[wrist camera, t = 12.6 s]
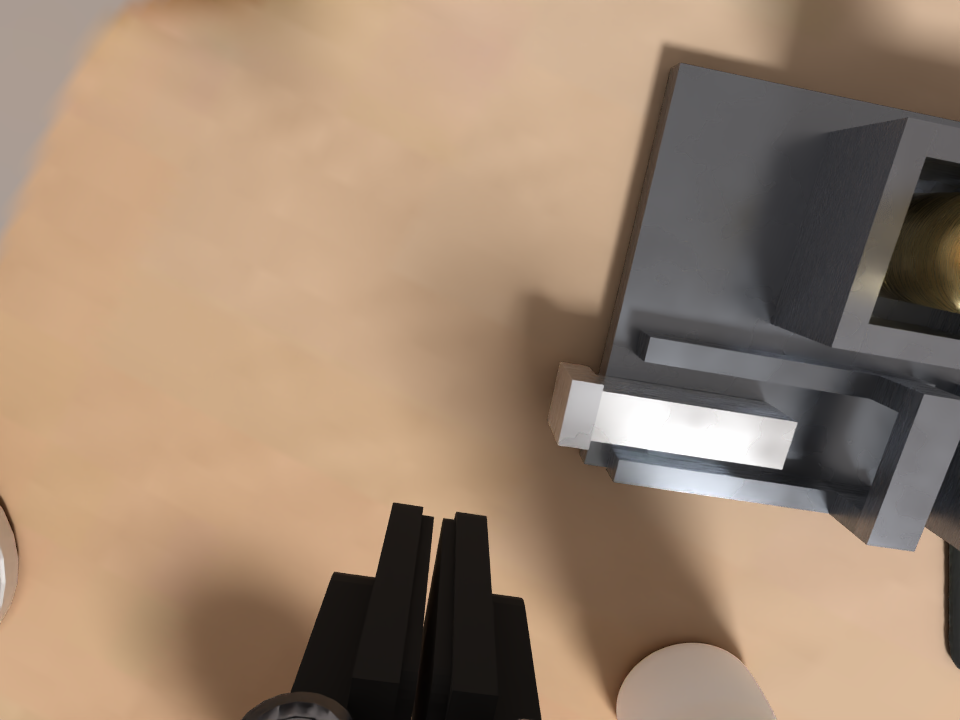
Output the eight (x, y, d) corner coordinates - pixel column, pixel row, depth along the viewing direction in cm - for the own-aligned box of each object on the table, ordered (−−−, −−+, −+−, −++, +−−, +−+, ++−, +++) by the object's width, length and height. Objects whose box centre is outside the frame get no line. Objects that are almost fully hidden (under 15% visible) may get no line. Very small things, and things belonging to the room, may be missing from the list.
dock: (579, 456, 26) (607, 513, 22) (670, 68, 23) (729, 32, 18) (909, 505, 28) (1005, 568, 23) (1050, 148, 24) (1200, 135, 19)
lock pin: (547, 420, 25) (557, 445, 22) (560, 361, 24) (572, 379, 22) (750, 451, 26) (782, 478, 23) (767, 395, 25) (802, 416, 23)
